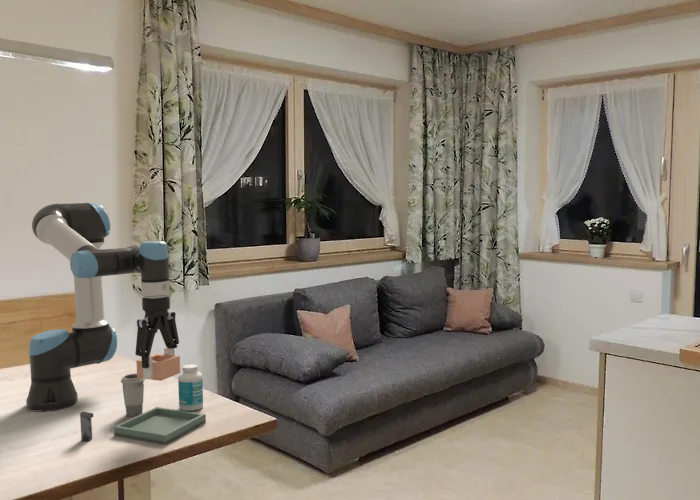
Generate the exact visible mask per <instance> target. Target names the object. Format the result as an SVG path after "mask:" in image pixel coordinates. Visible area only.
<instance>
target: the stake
mask: <svg viewBox="0 0 700 500" xmlns="http://www.w3.org/2000/svg"><path fill="white" fill-rule="evenodd" d="M79 416H80V417H79V419H80V421H79V422H80V437H81V438H80V439H81V442H90V441H91V440H93V426H92V418H94V413H93V412H87V411H82V412H80V413H79Z"/></svg>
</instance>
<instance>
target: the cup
mask: <svg viewBox="0 0 700 500" xmlns="http://www.w3.org/2000/svg"><path fill="white" fill-rule="evenodd" d="M145 380H146V379H143V378H137V372H136V373H135V372H134V373H129V374H124V375H123V376H122V378H121V379H120V383H121V384H122V392H123V394H122V395H123V401H124V405H125V414H126V416H127V417H129V418H132V417H133V418H134V417H136V416H138V415H140V414H143V409H144V408H143V405H144V394H145V393H144V392H145V384H144V382H145Z"/></svg>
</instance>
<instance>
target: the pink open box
mask: <svg viewBox="0 0 700 500" xmlns="http://www.w3.org/2000/svg"><path fill="white" fill-rule="evenodd" d="M150 356H152V366H153V379H152V380H153V381H157V382H158V381H160V382H162V381H164V380H167V379H168V378H172V377H174V376H176V375H180V374H181V355H177V354H176V355H175V354H174V355H166V354H164V353H154V354H150ZM135 361H136V373H137V378H143V379H144V377H143V368H142V358H139V359H136V360H135Z"/></svg>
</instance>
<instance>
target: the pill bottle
mask: <svg viewBox="0 0 700 500" xmlns="http://www.w3.org/2000/svg"><path fill="white" fill-rule="evenodd" d="M198 370H199V366H198V365H197V364H191V363H190V364H185V365H182V372H180V373H179V374H178V378H177V381H178V384H177V385H178V408H179V410H181V411H188V412H195V411H198V410H200V409H202V408H203V407H204V390H203V388H204V387H203V379H204V378H203V374H202V373H201V372H200V371H198Z"/></svg>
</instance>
